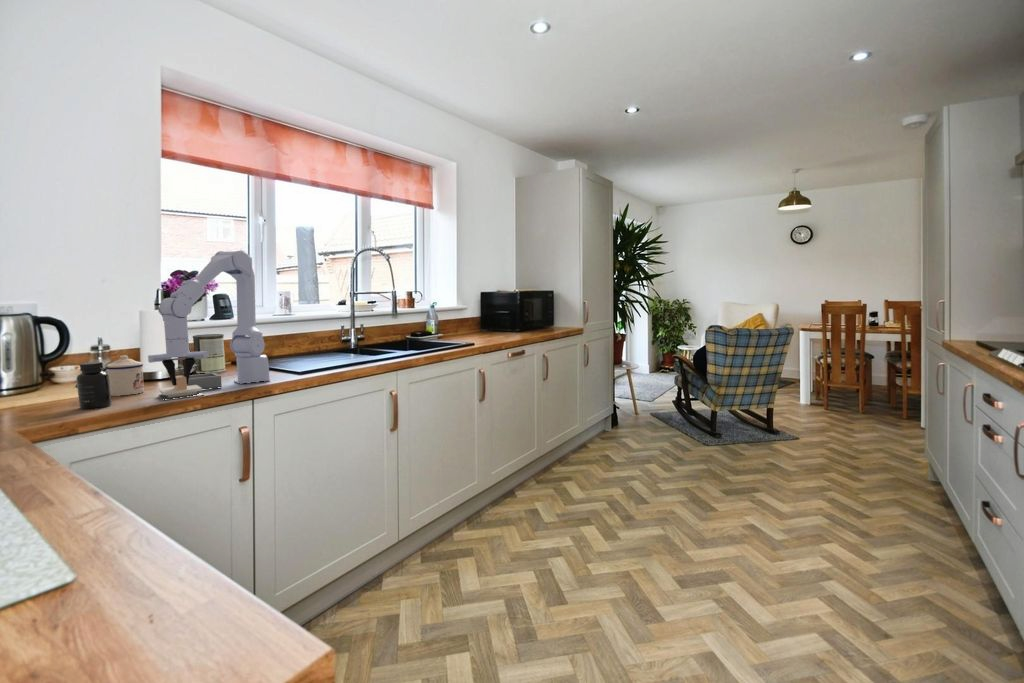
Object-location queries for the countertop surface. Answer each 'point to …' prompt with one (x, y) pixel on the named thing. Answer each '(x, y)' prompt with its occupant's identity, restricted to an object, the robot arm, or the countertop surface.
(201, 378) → the box
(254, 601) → the countertop surface
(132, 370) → the ceramic lidded jar
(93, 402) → the supplement bottle
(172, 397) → the mat
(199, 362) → the coffee can
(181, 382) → the lid
